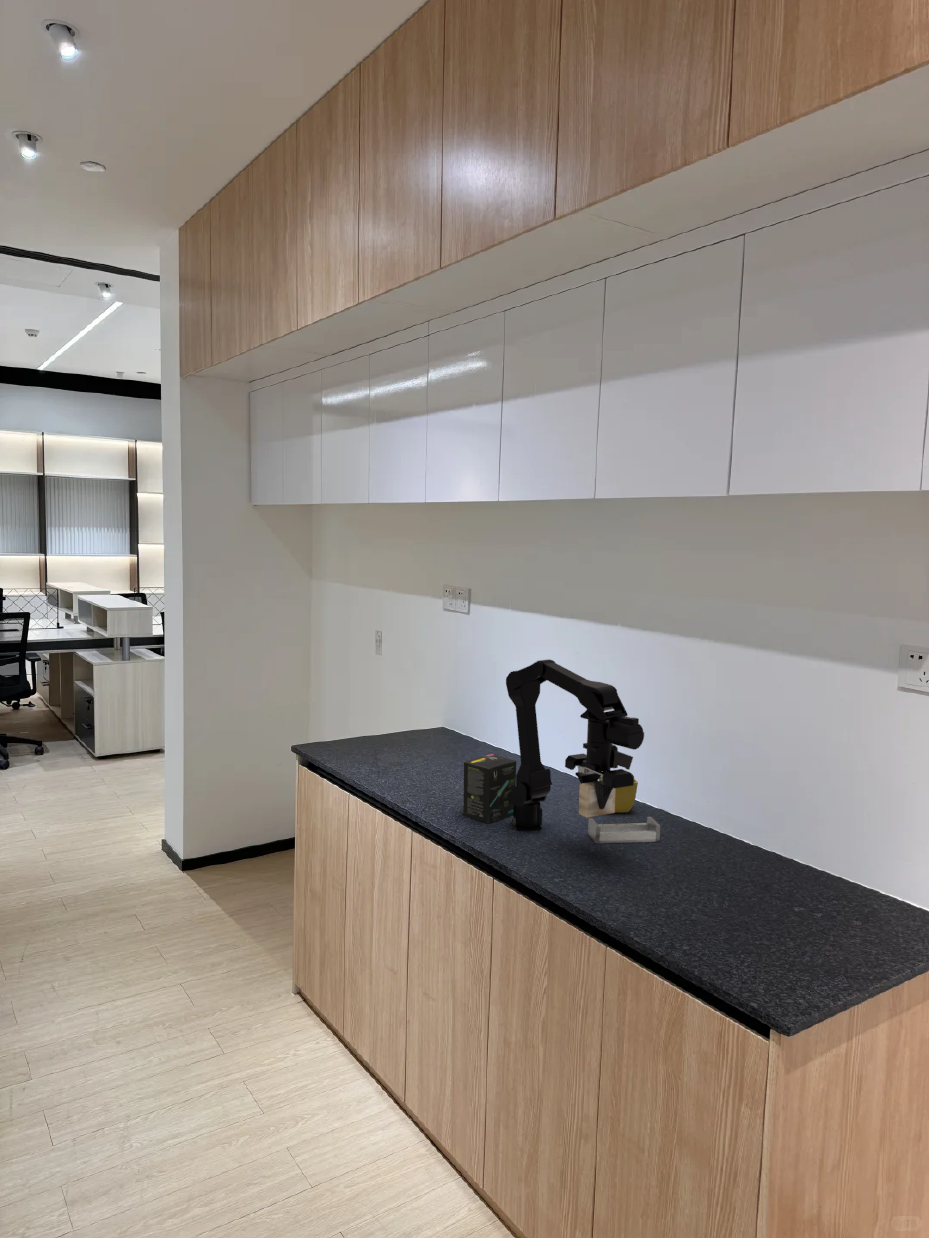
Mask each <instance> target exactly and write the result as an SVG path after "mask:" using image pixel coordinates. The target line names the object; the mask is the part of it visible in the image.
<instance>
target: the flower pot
mask: <svg viewBox="0 0 929 1238" xmlns="http://www.w3.org/2000/svg"><path fill="white" fill-rule="evenodd" d="M601 778H602V776H600V778H599V779H598V781H601ZM638 785H639V781H638V780H636V778H634V785H633V786H627V787H620V788H616V791H615V813H629V812H630V811H631V809H632V807H633V806H634V804H635V802H636V801H635V800H636V797H637V792H638V791H637V789H638Z"/></svg>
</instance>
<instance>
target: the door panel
mask: <svg viewBox="0 0 929 1238" xmlns="http://www.w3.org/2000/svg"><path fill="white" fill-rule="evenodd" d="M615 791H616V788H613V789H612V791H611V793H610V795H609V798H608V800H607V803H606V805H605V808H604V809H599V805H598V801H597V796H596V790H595V785H594V782H589V783H582V784H581V783H579V792H578V793H579V795H578V797H579V798H578V815H581V816H583V817H584V818H593V817H597V816H604V815H610V814H615V813H616V812H615Z"/></svg>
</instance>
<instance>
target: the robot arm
mask: <svg viewBox="0 0 929 1238" xmlns="http://www.w3.org/2000/svg"><path fill="white" fill-rule="evenodd" d="M505 678H506V679H505V686H506V691H507V694H508V697H509V699H510V700H511V702H512V704H513V705H514V707H515V713H516V715H515V716H516V723H517V736H518V746H519V756H520V766H519V768H518V770H517V772H516V787H515V788H514V789H513V790H511V791H510V792H509V793H508V795H507V796H508V801H509V803H511V804H513V805H514V809H513V815H512V816H513V818H512V819H511V823H512V826H513V827H514V829H515V830H516V831H531V830H533V831H534V830H536V831H537V830H542V824H543V808H542V807H541V804H542V803H541V802H545V801H546V800H547V797H548V795H549V793H550V792H551V786H552V785H553V782H552V777H551V774H552V773H551V770H550V768H546V767H545V766H544V764H543V763H542V760H541V750H540V739H539V738H540V737H539V731H538V729H539V728H538V720H537V719H538V718H537V707H536V704H537V701H538V699H539V697H540V694H541V684H543V683H545V682H547V681H548V682H550V683H551V684H554V685H555V686H556V687H558V688H560V689H562V690H564V691H566V692H568V693H569V694H571V695H573V696H574V697H576V698H577V700H578V702H579V704H580V705H581V706H583V707H584V708H585V709H586V710H585V711H584V712H583V713H581V714H580V716H579V717H580V718H581V719H583V720H584V719H585V720H587V731H586V732H587V736H586V742H583V743H582V748H583V749H585V750H586V753H578V754H577V753H576V754H570V755H567V757H566V758H565V760H564V767H565V768H566V769H567V770H570V771H573V770H575V769H576V767H577V771H576V772H575V774H574V775H575V776H576V777H577V778H578V781H579V784H582V783H589V782H594V785H595V790H596V796H597V801H598V805H599V809H604V808H605V805H606V803H607V800H608V798H609V795H610V793H611V791H612V789H613V788H620V787H627V786H633V785H634V779H635V775H634V774H633V773H631V771H630V768H631V766H632V762H633V759H634V756H631V755H629V754H627V753H623V752H621V751H618V746H619V747H622V748H626V749H629V750H637V749H639V748H640V747H641V745H642V744H643V742H644V738H645V732H644V729H643V726H642V725H641V724H640V723H639V722H640V721H639V718H638V717H629V716H628V712H627V710H626V709H625V706H624V704H623V702H622V701H621V698H620V696H619V693H618V689H617V688H616V687H615V686H613V684H609V683H605V682H601V681H597V680H596V681H594V680H590V679H586V678H585V677H583V676H581V675H579V674H577V673H575V672H573V671H571V670H570V669H567V668H566V667H563V665H561V664H558V663H557V662H555V661H554V660H552V659H549V658H548V659H541V660H536V661H535V662H533V663H532V664H530V665H528V666H526V667H523V668H520V669H519V670H518V669H517V670H512V671H510V672H509V673H508V675H507V676H506V677H505ZM618 767H622V768H625V769H626V770H625V769H622V768H620V769H619V768H618ZM611 769H612V770H611ZM600 776H602V778H601V781H599V778H600Z"/></svg>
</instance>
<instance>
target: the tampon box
mask: <svg viewBox="0 0 929 1238" xmlns="http://www.w3.org/2000/svg"><path fill="white" fill-rule="evenodd" d="M516 775H517V760H516V759H510V758H508V757H504V756H501V755H497V754H493V753H489V754H487V755H482V756H479V757H476V758H472V759H468V760H464V761H463V813H462V814H463V816H466V817H468V818H471V819H474V820H476V821H477V820H478V821H480V822H482V823H485V824H487V825H489V824H492V823H494V822H497V821H499V820H503V819H505V818H508V817H510V816H513V809H514V805H513V804H511V803H509V801H508V796H507V795H508V793H509V792H510V791H511V790H513V789H514V788H515V787H516Z"/></svg>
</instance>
